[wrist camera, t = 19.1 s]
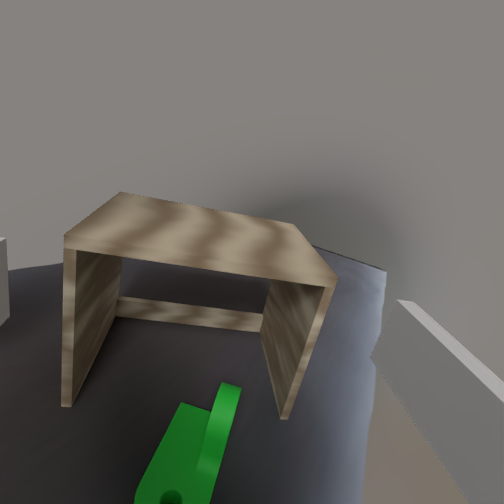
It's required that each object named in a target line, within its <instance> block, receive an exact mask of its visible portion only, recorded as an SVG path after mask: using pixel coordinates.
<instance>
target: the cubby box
mask: <svg viewBox="0 0 504 504" xmlns="http://www.w3.org/2000/svg"><path fill="white" fill-rule="evenodd" d="M122 257H129V258H135V259H142V260H149V261H155V262H162V263H169V264H175V265H182V266H189V267H195V268H202V269H209V270H216V271H222V272H229V273H236V274H242V275H249V276H256V277H262V278H269V279H272V281H271V284H270V288H269V292H268V295H267V299H266V303H265V306H264V310H263V314H258V313H250V312H242V311H234V310H226V309H218V308H210V307H202V306H194V305H186V304H178V303H170V302H163V301H155V300H147V299H139V298H131V297H123V296H119V289H120V277H121V266H122ZM337 280H338V277H337V275H336V274H335V273H334V272H333V271H332V270H331V268H330V267H329V266H328V265H327V264H326V262H325V261H324V260H323V259H322V258H321V256H320V255H319V254H318V253H317V252H316V250H315V249H314V248H313V247H312V246H311V245H310V243H309V242H308V241H307V240H306V239H305V237H304V236H303V235H302V234H301V233H300V231H299V230H298V229H297V228H296V227H295V226H294V224H289V223H284V222H278V221H273V220H268V219H263V218H257V217H252V216H247V215H241V214H236V213H230V212H225V211H220V210H215V209H209V208H204V207H199V206H193V205H188V204H183V203H177V202H172V201H167V200H161V199H156V198H151V197H145V196H140V195H135V194H129V193H124V192H119V193H118V194H117V195H115V196H114V197H113V198H111V199H110V200H109V201H107V202H106V203H105V204H103V205H102V206H101V207H100V208H98V209H97V210H96V211H94V212H93V213H92V214H90V215H89V216H88V217H86V218H85V219H84V220H82V221H81V222H80V223H79V224H77V225H76V226H75V227H73V228H72V229H71V230H69V231H68V232H67V233H66V234H64V262H63V320H62V379H61V407H72V405H73V403H74V401H75V399H76V397H77V395H78V393H79V391H80V389H81V386H82V384H83V382H84V380H85V378H86V376H87V374H88V372H89V370H90V368H91V366H92V364H93V362H94V360H95V358H96V356H97V354H98V351H99V349H100V347H101V345H102V343H103V341H104V339H105V337H106V335H107V333H108V331H109V329H110V327H111V325H112V323H113V321H114V319H115V317H116V316H119V317H128V318H137V319H146V320H154V321H163V322H172V323H181V324H190V325H199V326H207V327H216V328H225V329H234V330H243V331H251V332H259V334H260V338H261V342H262V346H263V350H264V354H265V359H266V363H267V367H268V371H269V375H270V379H271V384H272V388H273V392H274V396H275V400H276V404H277V409H278V413H279V417H280V419H284V420H288V418H289V416H290V413H291V410H292V407H293V404H294V401H295V399H296V396H297V393H298V390H299V387H300V384H301V382H302V379H303V376H304V373H305V370H306V368H307V365H308V362H309V359H310V356H311V353H312V351H313V348H314V345H315V342H316V339H317V337H318V334H319V331H320V328H321V325H322V322H323V320H324V317H325V314H326V311H327V308H328V305H329V303H330V300H331V297H332V294H333V291H334V289H335V286H336V283H337Z"/></svg>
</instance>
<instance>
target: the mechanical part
mask: <svg viewBox="0 0 504 504" xmlns="http://www.w3.org/2000/svg"><path fill="white" fill-rule="evenodd" d="M241 390H242V388H240V387H237V386H234V385H231V384H228V383H224V382H222V384H221V386H220V388H219V391H218V393H217V396H216V399H215V402H214V405H213V408H212V412H209V411H206V410H203V409H200V408H197V407H194V406H191V405H188V404H185V403H182V402H181V404H180V406H179V408H178V409H177V411H176V413H175V415H174V417H173V419H172V421H171V423H170V425H169V427H168V429H167V431H166V433H165V435H164V437H163V439H162V441H161V443H160V445H159V446H158V448H157V450H156V452H155V454H154V456H153V458H152V460H151V462H150V464H149V466H148V468H147V470H146V472H145V474H144V476H143V478H142V480H141V482H140V484H139V486H138V488H137V491H136V494H135V499H134V504H168V503H171V504H210V500H211V497H212V493H213V490H214V486H215V483H216V479H217V476H218V472H219V469H220V465H221V462H222V458H223V455H224V451H225V448H226V444H227V441H228V437H229V434H230V430H231V427H232V423H233V419H234V416H235V412H236V408H237V405H238V401H239V397H240V393H241Z"/></svg>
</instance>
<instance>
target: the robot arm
mask: <svg viewBox="0 0 504 504" xmlns="http://www.w3.org/2000/svg"><path fill="white" fill-rule="evenodd" d="M9 317H10V307H9V286H8V267H7V244H6V238H2V237H0V326H1V325H2V324H3V323H4V322H5V321H6V320H7V319H8V318H9ZM370 358H371V359H372V361H373V362H374V364H375V365H376V367H377V368H378V370H379V371H380V373H381V374H382V375H383V377H384V379H385V380H386V381H387V383H388V385H389V386H390V388H391V389H392V390H393V392H394V393H395V395H396V396H397V398H398V399H399V401H400V402H401V404H402V405H403V407H404V408H405V410H406V411H407V413H408V414H409V416H410V417H411V419H412V420H413V422H414V423H415V425H416V426H417V428H418V429H419V431H420V432H421V433H422V435H423V436H424V438H425V439H426V441H427V442H428V444H429V445H430V447H431V448H432V449H433V451H434V453H435V454H436V456H437V457H438V459H439V460H440V462H441V463H442V465H443V466H444V467H445V469H446V470H447V472H448V473H449V475H450V476H451V478H452V479H453V481H454V482H455V484H456V485H457V487H458V488H459V490H460V491H461V493H462V494H463V496H464V497H465V499H466V500H467V502H468V503H469V504H504V382H503V381H501V380H500V379H499V378H498V377H497V376H496V375H495V374H494V373H493V372H492V371H490V370H489V369H488V368H487V367H486V366H484V365H483V363H481V362H480V361H479V360H478V359H477V358H476V357H475V356H474V355H472V354H471V353H470V352H469V351H468V350H467V349H466V348H464V346H462V345H461V344H460V343H459V342H458V341H457V340H456V339H455V338H453V337H452V336H451V335H450V334H449V333H448V332H447V331H445V330H444V329H443V328H442V327H441V326H440V325H439V324H438V323H437V322H435V321H434V320H433V319H432V318H431V317H430V316H429V315H427V313H425V312H424V311H423V310H422V309H421V308H420V307H419V306H418V305H416V304H415V303H414V302H410V301H403V300H397V299H396V301H395V304H394V306H393V308H392V310H391V312H390V314H389V317H388V319H387V321H386V323H385V326H384V328H383V330H382V332H381V334H380V336H379V338H378V341H377V343H376V345H375V347H374V349H373V352H372V354H371V356H370Z"/></svg>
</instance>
